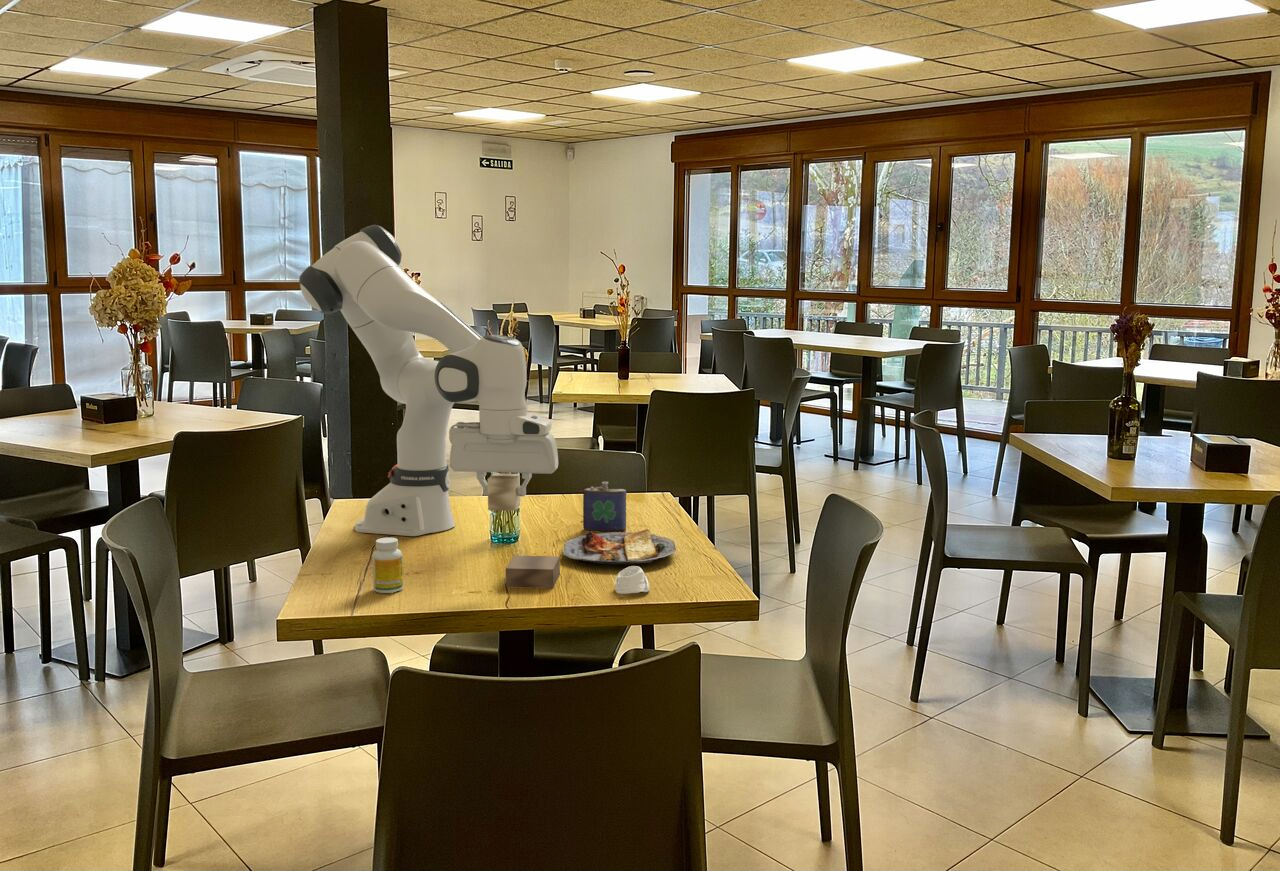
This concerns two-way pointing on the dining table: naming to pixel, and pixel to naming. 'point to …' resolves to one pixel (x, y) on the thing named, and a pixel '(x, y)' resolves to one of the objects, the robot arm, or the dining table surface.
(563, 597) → the dining table surface
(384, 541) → the supplement bottle
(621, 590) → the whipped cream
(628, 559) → the food plate
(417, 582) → the dining table surface
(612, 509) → the flask
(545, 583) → the walnut block
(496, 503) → the tan piece
